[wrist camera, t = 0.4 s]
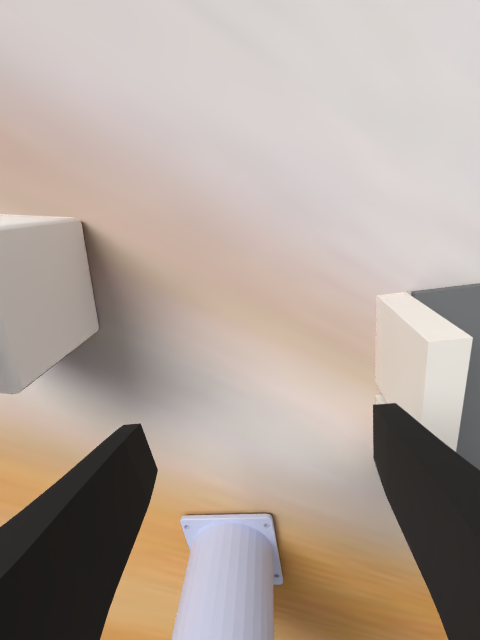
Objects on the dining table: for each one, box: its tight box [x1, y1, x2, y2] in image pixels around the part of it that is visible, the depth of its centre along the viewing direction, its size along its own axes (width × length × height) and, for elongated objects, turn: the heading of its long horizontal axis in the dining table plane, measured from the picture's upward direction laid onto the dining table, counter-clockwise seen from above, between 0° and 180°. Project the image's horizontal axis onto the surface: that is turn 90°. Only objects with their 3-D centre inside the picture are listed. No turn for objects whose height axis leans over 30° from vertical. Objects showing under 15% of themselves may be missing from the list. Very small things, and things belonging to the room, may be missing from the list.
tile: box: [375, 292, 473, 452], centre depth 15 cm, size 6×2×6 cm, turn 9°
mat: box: [411, 284, 480, 470], centre depth 19 cm, size 14×6×1 cm, turn 9°
